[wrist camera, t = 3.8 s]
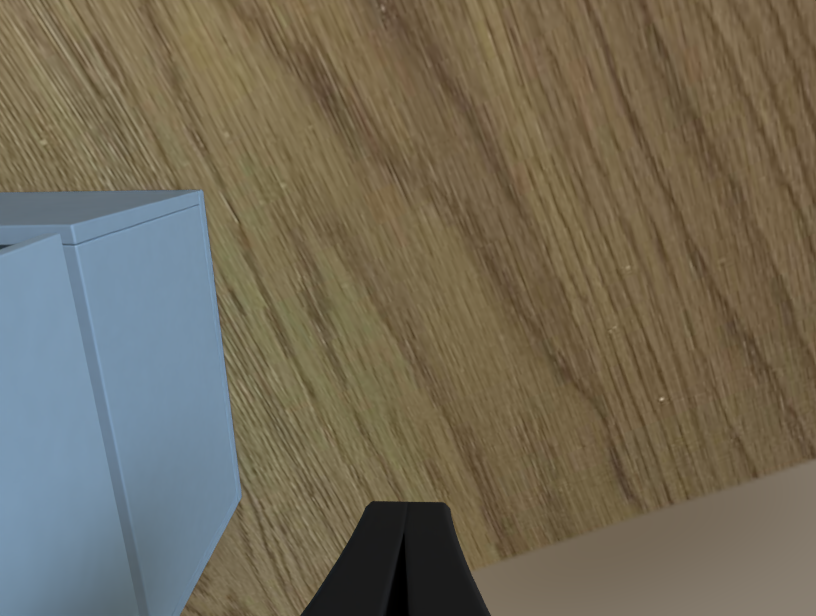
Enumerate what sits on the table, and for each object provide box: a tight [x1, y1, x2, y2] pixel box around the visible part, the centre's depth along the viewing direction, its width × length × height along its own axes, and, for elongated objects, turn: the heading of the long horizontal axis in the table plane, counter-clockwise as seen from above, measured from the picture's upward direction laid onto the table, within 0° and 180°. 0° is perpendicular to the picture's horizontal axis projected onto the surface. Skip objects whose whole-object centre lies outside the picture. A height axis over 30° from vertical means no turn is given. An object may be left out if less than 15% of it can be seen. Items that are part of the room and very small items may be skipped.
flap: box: [0, 233, 139, 616], centre depth 9 cm, size 6×11×1 cm
